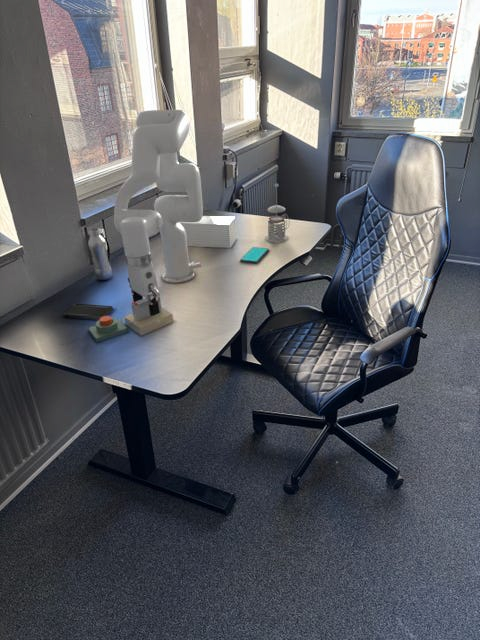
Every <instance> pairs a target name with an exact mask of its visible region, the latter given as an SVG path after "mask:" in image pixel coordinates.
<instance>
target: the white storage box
mask: <svg viewBox="0 0 480 640" xmlns="http://www.w3.org/2000/svg"><path fill="white" fill-rule="evenodd" d="M180 223H181V225H182V226H183V227H184V229H185V231H186V237H187V246H188V247H202V248H220V249H221V248H222V249H231V248H232V246H233V245H234V244H235V242H236V241H237V227H236V216H219V215H218V216H215V215H214V216H213V215H203V216H202V218H201V220H200V221H198V222H180Z"/></svg>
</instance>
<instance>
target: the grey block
mask: <svg viewBox="0 0 480 640" xmlns="http://www.w3.org/2000/svg"><path fill="white" fill-rule="evenodd" d="M150 298H151V300H152V299H153V298H154V297H153V296H151V297H150ZM159 298H160V299H159V302H158V304H159V311H160V312H162V308H163V307H162V302H161V296H160V297H159ZM130 304H131V305H130V306H131V311H132V313H133V316H134V319H135V320H137V321H140V320H142V319H145V318H147V317H150V316H151V315H150V312H149V305H148V304H149V302H148V300H147V298H146V297H143V299H141V300H139V301H136V302H134V301H132V302H131V303H130ZM161 307H162V308H161Z"/></svg>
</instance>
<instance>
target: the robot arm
mask: <svg viewBox="0 0 480 640" xmlns="http://www.w3.org/2000/svg"><path fill="white" fill-rule="evenodd" d="M135 125H136V128H135V129H134V130H133V134H132V148H131V149H132V152H131V170H130V171H131V172H130V176H129V177H128V178H127V179H125V181H124V183H122V185H121V187H120V188H119V190H118V191H117V194H116V196H115V200H114V207H113V208H114V211H113V223H114V228H115V230H116V231H117V232H118V234H120V235H121V240H122V247H123V251H124V256H125V257H124V259H125V262H126V266H127V274H128V277H127V282H128V284H129V288H130V293H131V296H132V302H136V301H139V300H141V299H144V298H147V300H148V302H149V304H148V305H149V312H150V315H151V316H153V315H156V314H158V313H160V311H159V304H158V302H159V299H160V300H161V296H160V295H161V293H160V290H159V289H160V288H159V283H158V279H157V275H156V271H155V268H154V265H153V259H152V252H151V246H150V239H149V238H151V237H153V236H156V235H157V234H158V233H159V235H160V241H161V247H162V248H161V249H162V255H163V256H162V257H163V264H164V271H163V272H162V274H161V278H162V280H163V281H164V282H166V283H170V284H180V283H184V282H187V281H191V280H192V279H193V278H194V277H195V271H194V270H195V269H199V268H201V267H202V264H201V262H195V261H192V262H190V257H189V246H187V237H186V231H185V229H184V227H183V226H182V225H181V223H180V222H198V221H200V220H201V218H202V216H204V205H203V204H204V203H203V192H202V191H203V189H202V178H201V173H200V169H199V167H198V166H197V165H196V164H195V163H190V162H183V163H182V162H179V159H178V152H179V151H181V149H182V147H183V145H184V143H185V141H186V139H187V137H188V135H189V131H190V127H191V125H190V118H189V116H188V114H187V112H186V111H184V110H182V109H153V110H144V111H141V112H140V111H139V113H138V114H136V116H135ZM153 184H155V185H156V188H157V189H158V190H159V191H160V192H168V193H176V192H177V193H178V192H179V193H181V192H182V193H186V194H165V195H161V196H158V197H157V198H156V199H155V200H154V203H153V209H128V207H129V203H130V201H131V199H132V198H133V197H134V196H135V195H136V194H137V193H138V192H140V191H143V190H144V189H145V188H147V187H150V186H152V185H153ZM151 296H153V297H154V298H153V299H152V300H151V298H150V297H151ZM159 297H160V298H159Z"/></svg>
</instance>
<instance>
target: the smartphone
mask: <svg viewBox="0 0 480 640" xmlns="http://www.w3.org/2000/svg"><path fill="white" fill-rule="evenodd" d="M269 250H270V249H269V247H268V248H266V247H257V246H256V247H255V246H253V247H251V248H250V249H249V251H247V252H246V253H245V255H243V256H242V257H241V258H240V262H241V263H249V264H258V263H259V262H260V261H261V260H262V258H264V257H265V255H267V253H269Z"/></svg>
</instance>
